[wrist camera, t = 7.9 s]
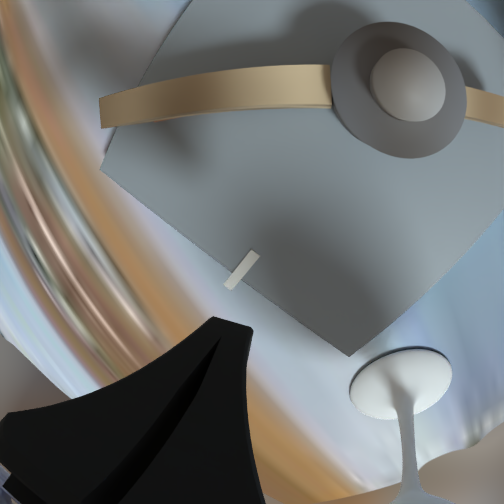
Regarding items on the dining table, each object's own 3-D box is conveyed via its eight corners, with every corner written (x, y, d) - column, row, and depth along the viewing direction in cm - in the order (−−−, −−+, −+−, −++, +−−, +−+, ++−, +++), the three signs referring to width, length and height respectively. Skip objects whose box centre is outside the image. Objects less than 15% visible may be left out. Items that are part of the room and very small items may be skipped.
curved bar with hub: (495, 71, 9) (550, 61, 4) (496, 164, 11) (552, 187, 7) (137, 69, 13) (74, 62, 9) (143, 153, 16) (82, 171, 11)
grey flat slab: (548, 118, 10) (563, 120, 8) (338, 350, 20) (338, 365, 19) (291, -86, 8) (287, -99, 7) (108, 177, 19) (93, 182, 17)
